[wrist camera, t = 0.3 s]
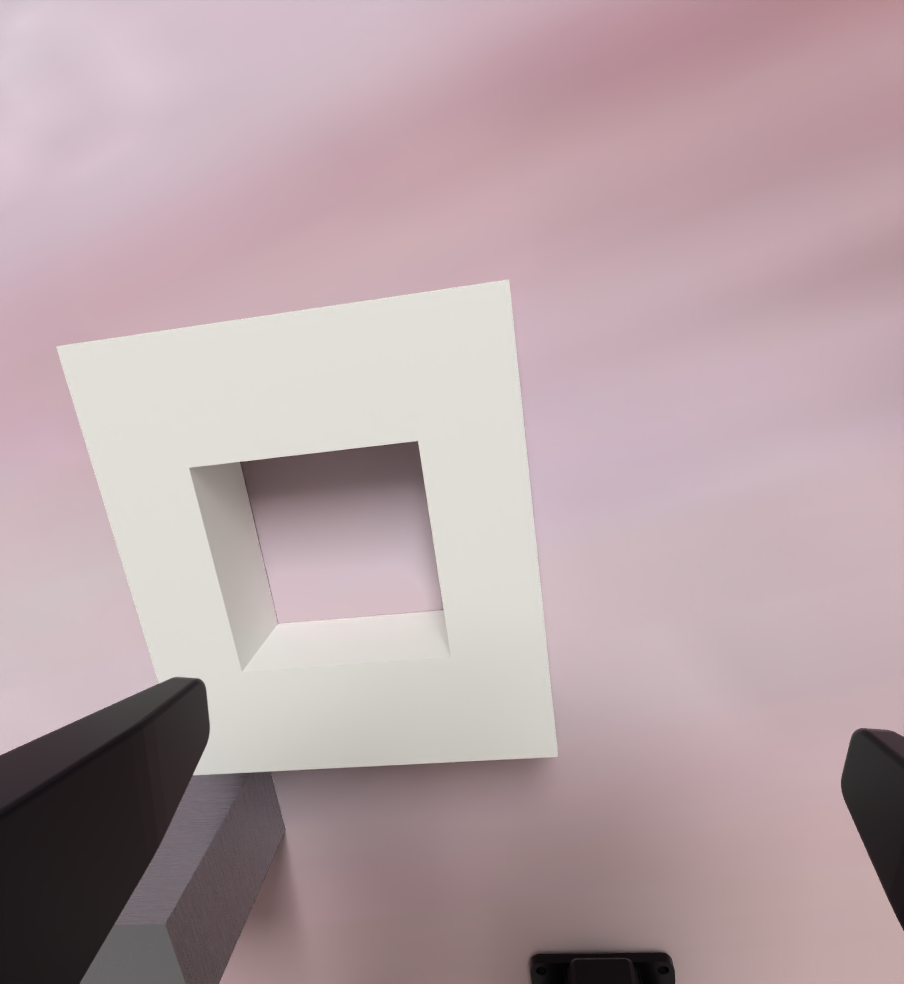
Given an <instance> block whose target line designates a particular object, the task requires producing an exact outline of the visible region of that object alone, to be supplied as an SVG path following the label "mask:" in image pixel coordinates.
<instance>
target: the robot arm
mask: <svg viewBox="0 0 904 984" xmlns="http://www.w3.org/2000/svg"><path fill="white" fill-rule="evenodd" d="M209 734H210V721H209V711H208V701H207V691H206V686H205V683H204V682H203V681H202V680H201V679H199V678H187V677H173V678H170V679H168V680H166V681H164V682H161V683H159V684H157V685H155V686H153V687H150V688H148V689H146V690H144V691H142V692H139V693H137V694H135V695H133V696H130V697H128V698H126V699H124V700H122V701H119V702H117V703H115V704H113V705H111V706H108V707H106V708H104V709H102V710H100V711H97V712H95V713H93V714H91V715H88V716H86V717H84V718H82V719H80V720H77V721H75V722H73V723H71V724H69V725H66V726H64V727H62V728H60V729H58V730H55V731H53V732H51V733H49V734H46V735H44V736H42V737H40V738H38V739H35V740H33V741H31V742H29V743H27V744H24V745H22V746H20V747H18V748H16V749H13V750H11V751H9V752H7V753H4V754H2V755H0V984H80V982H81V981H82V979H83V977H84V975H85V974H86V972H87V970H88V969H89V967H90V965H91V963H92V962H93V960H94V958H95V957H96V955H97V953H98V951H99V950H100V948H101V946H102V945H103V943H104V941H105V940H106V938H107V936H108V934H109V933H110V931H111V929H112V928H113V926H114V924H115V922H116V921H117V919H118V917H119V916H120V914H121V912H122V910H123V909H124V907H125V905H126V904H127V902H128V900H129V898H130V897H131V895H132V893H133V892H134V890H135V888H136V886H137V885H138V883H139V881H140V880H141V878H142V876H143V874H144V873H145V871H146V869H147V868H148V866H149V864H150V862H151V861H152V859H153V857H154V855H155V853H156V852H157V850H158V848H159V846H160V844H161V842H162V840H163V838H164V836H165V834H166V832H167V830H168V828H169V826H170V824H171V821H172V819H173V817H174V815H175V813H176V811H177V808H178V806H179V804H180V802H181V800H182V798H183V795H184V793H185V791H186V789H187V787H188V785H189V782H190V780H191V778H192V776H193V774H194V772H195V769H196V767H197V765H198V763H199V761H200V759H201V756H202V754H203V752H204V750H205V748H206V745H207V743H208V739H209ZM841 789H842V794H843V797H844V800H845V803H846V805H847V807H848V809H849V812H850V814H851V816H852V819H853V821H854V823H855V825H856V828H857V830H858V832H859V834H860V837H861V839H862V841H863V843H864V846H865V848H866V850H867V852H868V855H869V857H870V859H871V861H872V864H873V866H874V868H875V871H876V873H877V875H878V877H879V880H880V882H881V884H882V886H883V889H884V891H885V893H886V895H887V898H888V900H889V902H890V904H891V906H892V908H893V910H894V912H895V914H896V917H897V919H898V921H899V923H900V924H901V926H902V928H903V930H904V737H903V736H901V735H899V734H897V733H895V732H893V731H890V730H881V729H867V728H860V729H858V730H856V731H855V732H854V733H853V734H852V737H851V740H850V744H849V748H848V752H847V756H846V761H845V765H844V769H843V773H842V778H841ZM530 966H531V977H532V984H675V970H674V966H673V962H672V959H671V957H670V956H669V955H667V954H665V953H605V954H538V955H535V956H533V957H532V958H531V961H530Z"/></svg>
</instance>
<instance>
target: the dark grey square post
mask: <svg viewBox="0 0 904 984" xmlns="http://www.w3.org/2000/svg"><path fill="white" fill-rule="evenodd" d="M284 832H285V827H284V823H283V819H282V815H281V811H280V808H279V804H278V800H277V796H276V792H275V788H274V784H273V780H272V777H271V773H270V771H269V772H250V773H230V774H210V775H193V776H192V778H191V780H190V782H189V785H188V787H187V789H186V791H185V793H184V795H183V798H182V800H181V802H180V804H179V806H178V808H177V811H176V813H175V815H174V817H173V819H172V821H171V824H170V826H169V828H168V830H167V832H166V834H165V836H164V838H163V840H162V842H161V844H160V846H159V848H158V850H157V852H156V853H155V855H154V857H153V859H152V861H151V862H150V864H149V866H148V868H147V869H146V871H145V873H144V874H143V876H142V878H141V880H140V881H139V883H138V885H137V886H136V888H135V890H134V892H133V893H132V895H131V897H130V898H129V900H128V902H127V904H126V905H125V907H124V909H123V910H122V912H121V914H120V916H119V917H118V919H117V921H116V922H115V924H114V926H113V928H112V929H111V931H110V933H109V934H108V936H107V938H106V940H105V941H104V943H103V945H102V946H101V948H100V950H99V951H98V953H97V955H96V957H95V958H94V960H93V962H92V963H91V965H90V967H89V969H88V970H87V972H86V974H85V975H84V977H83V979H82V981H81V982H80V984H219V982H220V980H221V978H222V975H223V973H224V971H225V968H226V966H227V964H228V962H229V959H230V957H231V955H232V952H233V950H234V948H235V945H236V943H237V941H238V938H239V936H240V934H241V931H242V929H243V927H244V925H245V922H246V920H247V918H248V915H249V913H250V911H251V908H252V906H253V904H254V901H255V899H256V897H257V894H258V892H259V890H260V887H261V885H262V883H263V881H264V878H265V876H266V874H267V871H268V869H269V867H270V864H271V862H272V860H273V857H274V855H275V853H276V850H277V848H278V846H279V844H280V841H281V839H282V837H283V834H284Z"/></svg>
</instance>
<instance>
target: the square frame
mask: <svg viewBox="0 0 904 984" xmlns="http://www.w3.org/2000/svg"><path fill="white" fill-rule="evenodd" d="M56 348H57V351H58V354H59V358H60V361H61V364H62V367H63V371H64V374H65V377H66V381H67V384H68V387H69V390H70V394H71V397H72V400H73V404H74V407H75V410H76V413H77V417H78V420H79V423H80V427H81V430H82V433H83V436H84V440H85V443H86V446H87V450H88V453H89V456H90V460H91V463H92V466H93V469H94V473H95V476H96V479H97V483H98V486H99V489H100V492H101V496H102V499H103V502H104V506H105V509H106V512H107V515H108V519H109V522H110V525H111V529H112V532H113V535H114V538H115V542H116V545H117V548H118V552H119V555H120V558H121V561H122V565H123V568H124V571H125V575H126V578H127V581H128V584H129V588H130V591H131V594H132V598H133V601H134V604H135V608H136V611H137V614H138V617H139V621H140V624H141V627H142V631H143V634H144V637H145V640H146V644H147V647H148V650H149V654H150V657H151V660H152V663H153V667H154V670H155V673H156V677H157V680H158V683H161V682H164V681H166V680H168V679H170V678H173V677H187V678H199V679H201V680H202V681H203V682H204V683H205V686H206V691H207V701H208V711H209V721H210V734H209V739H208V743H207V745H206V748H205V750H204V752H203V754H202V756H201V759H200V761H199V763H198V765H197V767H196V769H195V772H194V774H193V775H210V774H230V773H250V772H269V771H289V770H309V769H328V768H348V767H368V766H387V765H407V764H426V763H446V762H466V761H485V760H505V759H525V758H544V757H558V750H557V740H556V731H555V721H554V711H553V701H552V692H551V682H550V672H549V663H548V653H547V643H546V633H545V624H544V614H543V604H542V595H541V585H540V575H539V566H538V556H537V546H536V536H535V527H534V517H533V507H532V498H531V488H530V478H529V468H528V459H527V449H526V439H525V430H524V420H523V410H522V401H521V391H520V381H519V371H518V362H517V352H516V342H515V333H514V323H513V313H512V304H511V294H510V284H509V280H502V281H495V282H489V283H482V284H475V285H468V286H461V287H455V288H448V289H441V290H434V291H428V292H421V293H414V294H407V295H401V296H394V297H387V298H380V299H374V300H367V301H360V302H353V303H346V304H340V305H333V306H326V307H319V308H313V309H306V310H299V311H292V312H286V313H279V314H272V315H265V316H258V317H252V318H245V319H238V320H231V321H225V322H218V323H211V324H204V325H198V326H191V327H184V328H177V329H170V330H164V331H157V332H150V333H143V334H137V335H130V336H123V337H116V338H110V339H103V340H96V341H89V342H83V343H76V344H69V345H62V346H56ZM413 441H418V444H419V451H420V458H421V464H422V471H423V477H424V484H425V490H426V497H427V504H428V510H429V517H430V523H431V530H432V536H433V543H434V550H435V556H436V563H437V569H438V576H439V582H440V589H441V596H442V602H443V609H444V610H439V611H427V612H415V613H403V614H390V615H378V616H366V617H354V618H342V619H330V620H317V621H305V622H293V623H281V624H278V621H277V617H276V612H275V608H274V604H273V600H272V595H271V591H270V587H269V583H268V578H267V574H266V570H265V566H264V561H263V557H262V553H261V549H260V544H259V540H258V536H257V532H256V527H255V523H254V519H253V515H252V510H251V506H250V502H249V498H248V493H247V489H246V485H245V481H244V476H243V472H242V468H241V464H240V462H243V461H251V460H260V459H268V458H277V457H285V456H294V455H302V454H311V453H319V452H328V451H336V450H345V449H353V448H362V447H370V446H379V445H388V444H396V443H405V442H413Z"/></svg>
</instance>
